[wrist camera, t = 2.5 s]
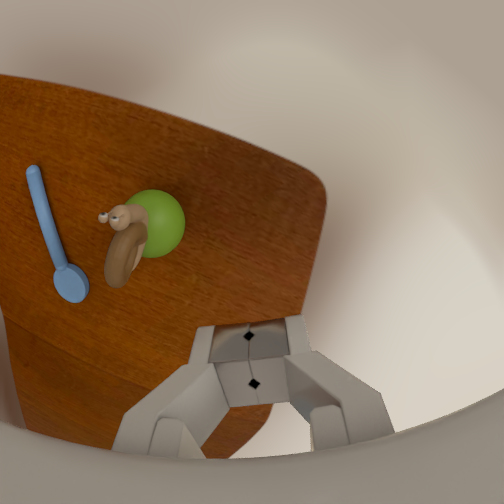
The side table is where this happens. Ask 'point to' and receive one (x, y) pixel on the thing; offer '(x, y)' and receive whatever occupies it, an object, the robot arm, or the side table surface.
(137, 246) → the snail figurine
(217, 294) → the side table surface
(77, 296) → the blue spoon
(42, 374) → the side table surface
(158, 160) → the side table surface
